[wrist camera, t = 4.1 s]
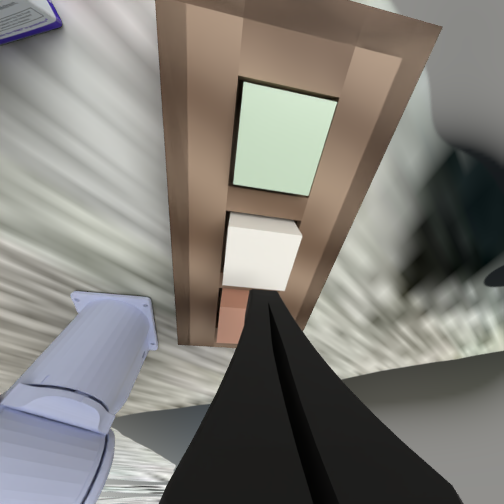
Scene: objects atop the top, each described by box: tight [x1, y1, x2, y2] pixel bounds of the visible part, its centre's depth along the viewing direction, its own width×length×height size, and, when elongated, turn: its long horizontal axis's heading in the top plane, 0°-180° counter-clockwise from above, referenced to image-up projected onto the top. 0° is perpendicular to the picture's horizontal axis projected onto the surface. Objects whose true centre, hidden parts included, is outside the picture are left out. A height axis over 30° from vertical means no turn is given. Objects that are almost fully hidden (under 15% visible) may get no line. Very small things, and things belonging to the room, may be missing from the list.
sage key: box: [233, 82, 337, 196], centre depth 11 cm, size 4×4×4 cm
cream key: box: [222, 211, 302, 291], centre depth 14 cm, size 4×4×4 cm
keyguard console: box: [155, 0, 442, 348], centre depth 16 cm, size 24×12×4 cm, turn 171°
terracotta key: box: [216, 288, 250, 344], centre depth 17 cm, size 4×4×4 cm
